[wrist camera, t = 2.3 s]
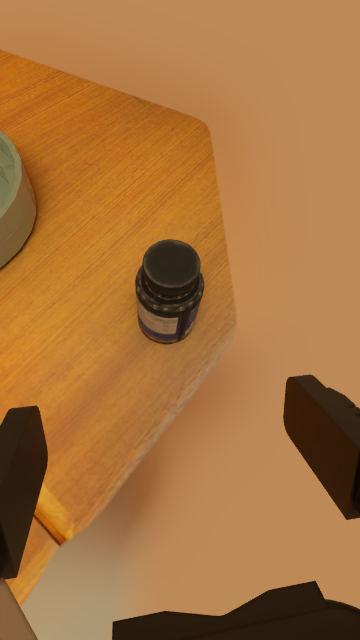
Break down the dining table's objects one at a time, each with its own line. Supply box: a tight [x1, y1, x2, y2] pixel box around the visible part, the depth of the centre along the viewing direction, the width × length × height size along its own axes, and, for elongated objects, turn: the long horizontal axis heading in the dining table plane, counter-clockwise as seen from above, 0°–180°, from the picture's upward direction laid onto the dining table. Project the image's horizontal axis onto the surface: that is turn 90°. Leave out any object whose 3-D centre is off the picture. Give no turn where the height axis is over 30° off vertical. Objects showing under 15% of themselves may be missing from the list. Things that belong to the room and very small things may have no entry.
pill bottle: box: [135, 239, 204, 344], centre depth 33 cm, size 6×6×11 cm
